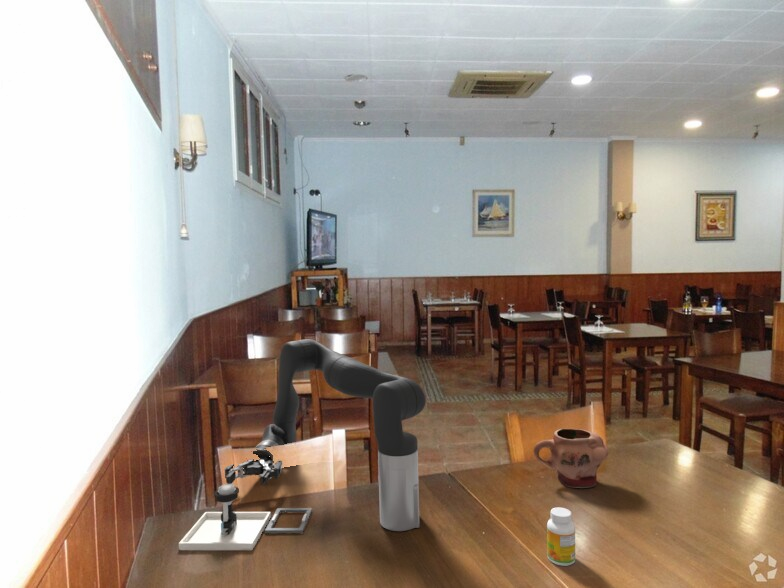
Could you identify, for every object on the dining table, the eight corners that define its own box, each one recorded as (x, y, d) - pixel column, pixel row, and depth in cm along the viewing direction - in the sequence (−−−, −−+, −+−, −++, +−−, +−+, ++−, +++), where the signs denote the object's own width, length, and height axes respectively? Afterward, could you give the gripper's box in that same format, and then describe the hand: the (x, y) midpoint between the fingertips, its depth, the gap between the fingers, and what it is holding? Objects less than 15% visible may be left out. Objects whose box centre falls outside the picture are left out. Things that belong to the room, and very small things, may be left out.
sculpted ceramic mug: (544, 495, 130) (543, 442, 130) (527, 475, 143) (526, 427, 142) (618, 490, 132) (618, 438, 131) (595, 471, 144) (595, 423, 144)
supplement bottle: (543, 552, 104) (542, 506, 104) (568, 550, 105) (568, 504, 104) (553, 567, 99) (553, 519, 99) (580, 565, 100) (579, 517, 99)
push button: (234, 538, 112) (233, 494, 112) (210, 539, 112) (208, 495, 111) (243, 523, 119) (241, 481, 118) (220, 524, 119) (218, 482, 118)
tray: (271, 517, 122) (270, 511, 122) (252, 550, 108) (252, 543, 108) (205, 518, 122) (205, 511, 122) (178, 550, 108) (178, 543, 108)
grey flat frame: (312, 511, 125) (311, 506, 125) (302, 533, 114) (302, 528, 114) (277, 511, 125) (277, 506, 125) (265, 533, 114) (264, 528, 114)
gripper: (238, 444, 144) (216, 466, 128) (288, 443, 143) (272, 466, 127) (239, 470, 144) (218, 495, 128) (289, 469, 144) (273, 495, 128)
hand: (245, 481), depth 128 cm, fingers open, 8 cm apart
